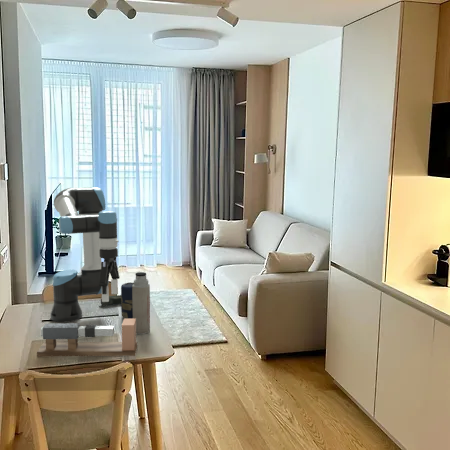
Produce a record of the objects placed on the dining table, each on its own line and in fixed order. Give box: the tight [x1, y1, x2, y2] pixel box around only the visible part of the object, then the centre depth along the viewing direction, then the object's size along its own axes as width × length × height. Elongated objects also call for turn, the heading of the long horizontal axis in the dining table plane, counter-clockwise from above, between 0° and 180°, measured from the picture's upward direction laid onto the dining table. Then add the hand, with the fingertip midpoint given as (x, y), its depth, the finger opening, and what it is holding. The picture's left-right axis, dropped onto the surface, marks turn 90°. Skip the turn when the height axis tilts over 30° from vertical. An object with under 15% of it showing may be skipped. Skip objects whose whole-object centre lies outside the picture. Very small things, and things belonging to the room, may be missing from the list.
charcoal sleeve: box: [42, 322, 81, 340], centre depth 215 cm, size 5×14×5 cm, turn 94°
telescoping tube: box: [40, 324, 115, 338], centre depth 215 cm, size 4×30×4 cm, turn 94°
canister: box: [120, 282, 134, 319], centre depth 258 cm, size 10×10×18 cm
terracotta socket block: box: [121, 318, 137, 350], centre depth 217 cm, size 8×5×11 cm, turn 4°
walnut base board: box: [36, 338, 139, 358], centre depth 216 cm, size 10×40×6 cm, turn 94°
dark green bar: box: [98, 294, 121, 308], centre depth 277 cm, size 5×3×15 cm
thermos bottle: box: [132, 271, 151, 335], centre depth 239 cm, size 8×8×28 cm
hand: (110, 297), depth 217 cm, fingers open, 13 cm apart
